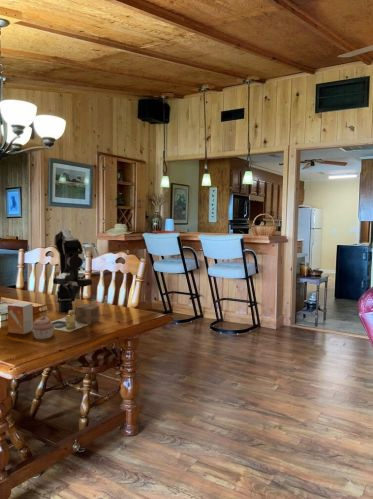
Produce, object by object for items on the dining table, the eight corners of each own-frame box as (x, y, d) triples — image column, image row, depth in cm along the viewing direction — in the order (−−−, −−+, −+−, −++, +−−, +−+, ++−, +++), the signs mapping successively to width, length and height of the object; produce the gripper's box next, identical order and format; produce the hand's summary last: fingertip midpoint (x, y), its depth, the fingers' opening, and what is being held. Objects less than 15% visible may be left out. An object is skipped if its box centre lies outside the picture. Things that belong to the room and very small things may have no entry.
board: (38, 328, 184) (38, 317, 183) (69, 318, 202) (69, 307, 201) (69, 334, 176) (69, 322, 175) (99, 323, 194) (98, 312, 193)
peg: (64, 328, 180) (63, 315, 179) (70, 326, 183) (70, 313, 183) (71, 330, 178) (70, 316, 178) (77, 327, 182) (77, 314, 181)
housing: (75, 321, 190) (75, 307, 190) (85, 318, 197) (85, 304, 196) (89, 323, 187) (89, 309, 186) (99, 320, 193) (99, 305, 192)
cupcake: (32, 344, 163) (31, 319, 162) (30, 337, 172) (30, 313, 171) (56, 341, 167) (56, 317, 166) (54, 334, 175) (53, 311, 174)
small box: (7, 335, 174) (6, 304, 173) (18, 330, 180) (17, 301, 179) (23, 337, 172) (22, 306, 171) (33, 332, 178) (32, 303, 177)
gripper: (43, 267, 186) (44, 301, 187) (76, 269, 178) (76, 305, 179) (61, 264, 196) (61, 297, 197) (92, 266, 188) (93, 300, 189)
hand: (72, 299), depth 190 cm, fingers closed
